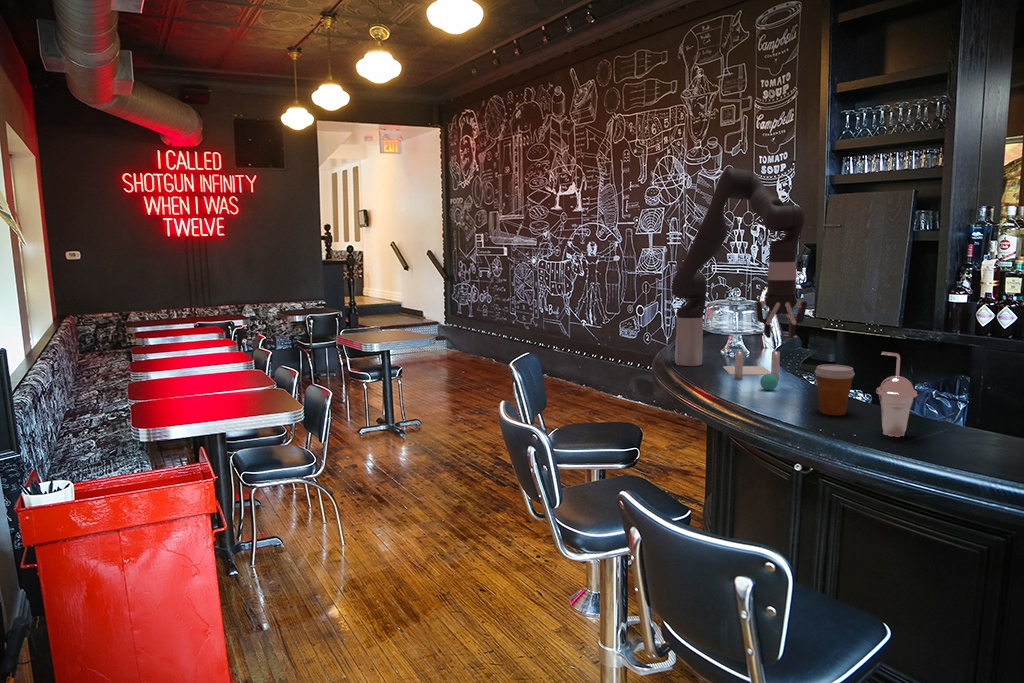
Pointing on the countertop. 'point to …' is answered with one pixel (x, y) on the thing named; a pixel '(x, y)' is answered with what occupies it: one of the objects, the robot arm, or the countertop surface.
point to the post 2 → (775, 363)
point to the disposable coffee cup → (833, 388)
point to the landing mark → (748, 370)
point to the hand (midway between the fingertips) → (779, 337)
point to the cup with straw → (895, 401)
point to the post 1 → (738, 365)
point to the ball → (769, 382)
